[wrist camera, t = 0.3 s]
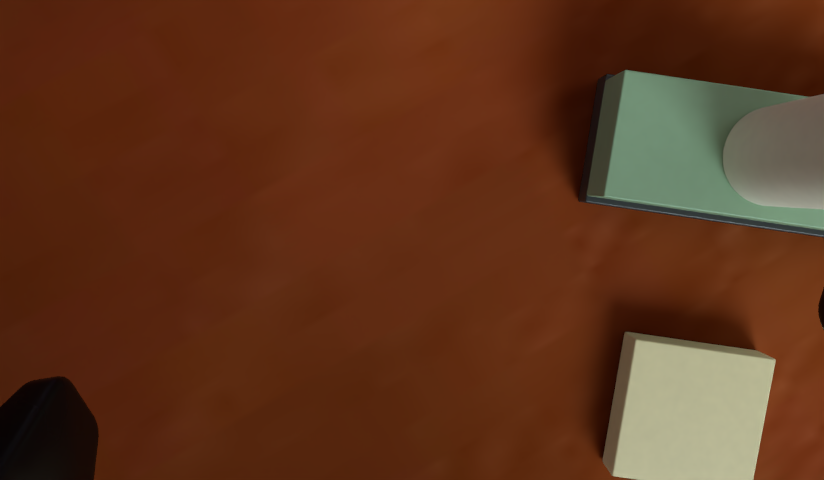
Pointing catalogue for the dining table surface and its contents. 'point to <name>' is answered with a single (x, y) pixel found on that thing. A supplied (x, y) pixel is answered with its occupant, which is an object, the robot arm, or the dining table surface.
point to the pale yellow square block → (686, 410)
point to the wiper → (707, 152)
